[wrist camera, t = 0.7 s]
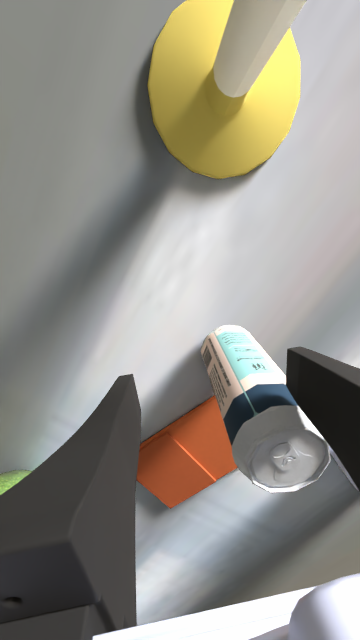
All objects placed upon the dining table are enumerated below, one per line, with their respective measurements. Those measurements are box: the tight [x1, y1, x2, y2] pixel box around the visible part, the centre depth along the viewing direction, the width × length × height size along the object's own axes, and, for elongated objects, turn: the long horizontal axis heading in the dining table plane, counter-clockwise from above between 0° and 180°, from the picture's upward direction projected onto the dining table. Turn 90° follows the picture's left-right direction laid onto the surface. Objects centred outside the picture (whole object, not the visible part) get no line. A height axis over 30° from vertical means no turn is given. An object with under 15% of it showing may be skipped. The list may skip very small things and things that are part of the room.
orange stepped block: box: [136, 395, 237, 509], centre depth 27 cm, size 9×13×1 cm
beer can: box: [201, 325, 331, 493], centre depth 17 cm, size 5×5×12 cm
